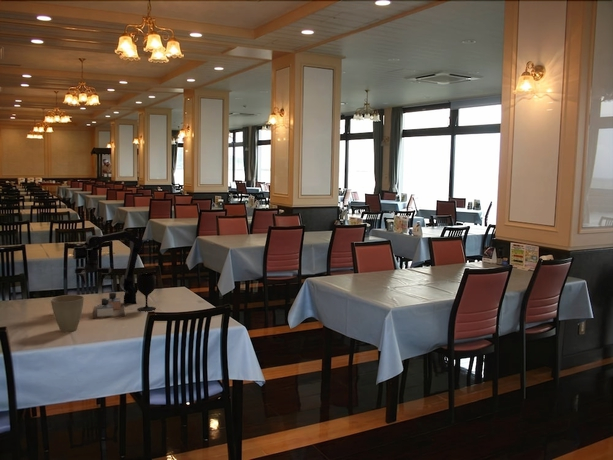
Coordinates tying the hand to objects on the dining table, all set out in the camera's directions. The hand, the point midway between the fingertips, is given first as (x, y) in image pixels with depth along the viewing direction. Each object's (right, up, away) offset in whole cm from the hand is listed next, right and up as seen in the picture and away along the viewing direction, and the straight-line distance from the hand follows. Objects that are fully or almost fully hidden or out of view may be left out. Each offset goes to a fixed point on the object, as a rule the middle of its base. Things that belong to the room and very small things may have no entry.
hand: (93, 285), depth 318 cm
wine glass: (+31, -14, -1) cm, 34 cm away
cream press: (+12, -15, -15) cm, 25 cm away
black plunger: (+12, -14, -15) cm, 24 cm away
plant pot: (+5, -18, -44) cm, 48 cm away
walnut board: (+12, -14, -8) cm, 20 cm away
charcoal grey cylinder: (+11, -12, -1) cm, 17 cm away
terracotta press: (+11, -13, -1) cm, 17 cm away
